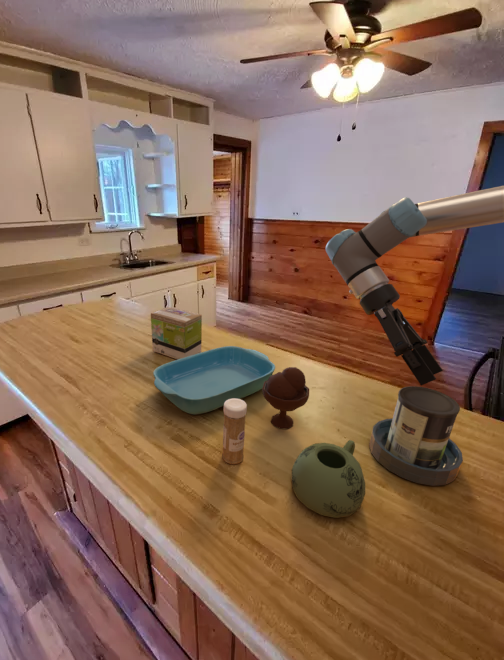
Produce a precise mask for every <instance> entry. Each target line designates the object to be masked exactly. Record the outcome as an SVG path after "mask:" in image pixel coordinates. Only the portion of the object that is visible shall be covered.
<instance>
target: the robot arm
mask: <svg viewBox="0 0 504 660" xmlns="http://www.w3.org/2000/svg"><path fill="white" fill-rule="evenodd" d="M503 223H504V185H500V186H495V187H491V188H485V189H479V190H476V191H471V192H466V193H461V194H456V195H452V196H446V197H441V198H437V199H432V200H427V201H422V202H417V203H414V201H413V200H412V199H411V198H410V197H408V196H407V197H402V198H401V199H400V200H398V201H397V202H396V203H393V204H392V205H390V206H389V207H388V208H386V209H385V210H383V211H382V212H381V213H380V214H379V215H378V216H377V217H376V218H374V219H373V220H371V221H370V222H369V223H368V224H367V225H365V226H364V227H363V228H361V229H359V231H357V232H356V231H355V230H354V229H351V228H347V229H343V230H342V231H340V232H339V233H336V234H335V235H333V236H332V238H330V239H329V240H328V242H327V243H326V245H325V252H326V254H327V256H328V258H329V260H330V261H331V264H332V265H333V267H334V268H335V269H336V270H337V272H338V273H339V275H340V276H341V278H342V280H343V281H344V282H345V284H346V285H347V286H348V288H349V291H348V293H349V294H350V295H352V294H353V295H354V297H355V299H356V300H358V301H359V305H360V307H361V309H363V311H364V313H365V314H366V315H367V316H371V315H374V316H375V317H376V319H377V320H378V322H379V323H380V326H381V328H382V329H383V331H384V333H385V335H386V337H387V339H388V340H389V342H390V344H391V346H392V348H393V351H394V352H393V354H394V355H395V357H397V358H398V357H401V358H402V359H403V361H404V362H405V364H406V366H407V367H408V368H409V370H410V372H411V373H412V375H413V376H414V378H415V379H416V381H417V382H418V383H419V386H423V385H426V384H429V383H431V382H434V381H435V380H437V377H436V376H435V375H436V374H437V375H438V374H439V373H441V372H443V371H444V370H443V368H442V367H441V366H440V364H439V363H438V361H437V360H436V359H435V357H434V355H433V354H432V353H431V351H430V350H429V348H428V347H427V346H426V344H428V341H427V339H426V338H423V337H421V335H420V334H419V333H418V332H417V331H416V330H415V329H414V327H413V326H412V324H411V323H410V322H409V321H408V319H407V318H406V317H405V316H404V313H403V312H402V310H400V309H399V307H397V308H395V307H394V306H393V304H394V303H396V302H397V301H398V300H399V299H400V297H401V295H400V294H399V292H398V290H397V289H396V288H395V287H394V285H393V284H391V283H389V282H390V279H389V278H388V276H387V274H386V273H385V272H384V270H383V269H382V267H381V266H380V265H379V264H378V263H377V260H378V259H380V258H381V257H383V256H384V255H385V254H387V253H388V252H389V251H391V250H393V249H395V248H396V247H398V246H399V245H400V244H402V243H403V242H405V241H406V240H408V239H409V238H414V237H419V236H425V235H432V234H433V235H434V234H437V233H446V232H450V231H452V232H453V231H457V230H464V229H465V230H466V229H470V228H476V227H483V226H490V225H496V224H503Z"/></svg>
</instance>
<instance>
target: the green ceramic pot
mask: <svg viewBox="0 0 504 660" xmlns="http://www.w3.org/2000/svg"><path fill="white" fill-rule="evenodd" d="M355 448H356V443H355V440H352V439H349V440H347V442H346V443H345V444H344V445H343V447H342V446H339V445H337V444H334V443H329V442H317V443H312V444H311V445H309V446H307V447H305V448H304V449H303V450H301V452H300V453H299V455H298V456H297V457H296V459H295V461H294V463H293V464H292V468H291V488H292V491H293V492H294V495H295V496H296V497H297V499H298V500H299V501H300V502H301V503H302V504H303V505H304V506H305V507H306V508H307V509H308V510H311V511H313V512H314V513H317V514H319V515H321V516H325V517H330V518H334V519H338V518H345V517H350V516H351V515H353V514H354V513H356V512H357V511H358V510H359V509H360V507H361V506H362V504H363V502H364V499H365V495H366V480H365V475H364V473H363V469H362V466H361V463H360V462H359V461H358V460H357V459H356V457H355V456H354V453H355Z"/></svg>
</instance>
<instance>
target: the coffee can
mask: <svg viewBox="0 0 504 660" xmlns="http://www.w3.org/2000/svg"><path fill="white" fill-rule="evenodd" d="M397 396H398V397H397V401H396V404H395V408H394V412H393V416H392V418H391V419H392V423H391V427H390V431H389V435H388V439H387V442H386V445H385V449H386V450H388V451H389V452H390V453H392V454H393V455H394V456H396V457H398V458H400V459H402V460H404V461H406V462H408V463H411V464H414V465H417V466H420V467H425V468H431V469H439V467H440V463H441V460H442V457H443V454H444V451H445V448H446V445H447V442H448V440H449V438H451V437H450V436H451V434H452V431H453V428H454V426H455V422H456V419H457V417H458V415H459V413H460V410H461V407H460V404H459V403H458V402H457V400H455V399H454V398H453V397H451V396H449V395H448V394H445V393H444V392H441V391H438V390H435V389H432V388H428V387H423V386H417V385H416V386H415V385H414V386H413V385H412V386H411V385H409V386H404V387H402V388H400V389H399V391H398V393H397Z"/></svg>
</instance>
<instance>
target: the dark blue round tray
mask: <svg viewBox="0 0 504 660" xmlns="http://www.w3.org/2000/svg"><path fill="white" fill-rule="evenodd" d="M392 419H393V418H385V419H382V420H379V421H377V422H376V423H375V424H374V425H373V426H372V430H371V434H370V439H369V443H368V447H369V450H370V453H371V455H372V456H373V457H374V458H375V460H376V462H378V463H379V464H380V465H381V466H382V467H384V468H385V469H386V470H388V471H389V472H391V473H392V474H394V475H396V476H398V477H399V478H402V479H405V480H407V481H410V482H413V483H416V484H420V485H425V486H446V485H448V484H450V483H452V482H454V481H455V480H456V478H457V476H458V475H459V472H460V469H461V467H462V465H463V462H464V458H463V453H462V452H463V451H462V450H461V449H460V448H459V446H458V445H457V444H456V442H454V441H453V440H452V439H451V437H449V440H448V442H447V445H446V448H445V451H444V454H443V457H442V460H441V463H440V467H439V469H431V468H425V467H420V466H417V465H414V464H411V463H408V462H406V461H404V460H402V459H400V458H398V457H396V456H394V455H393V454H392V453H390V452H389V451H388V450H386V449H385V445H386V442H387V439H388V435H389V431H390V427H391V423H392Z"/></svg>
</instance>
